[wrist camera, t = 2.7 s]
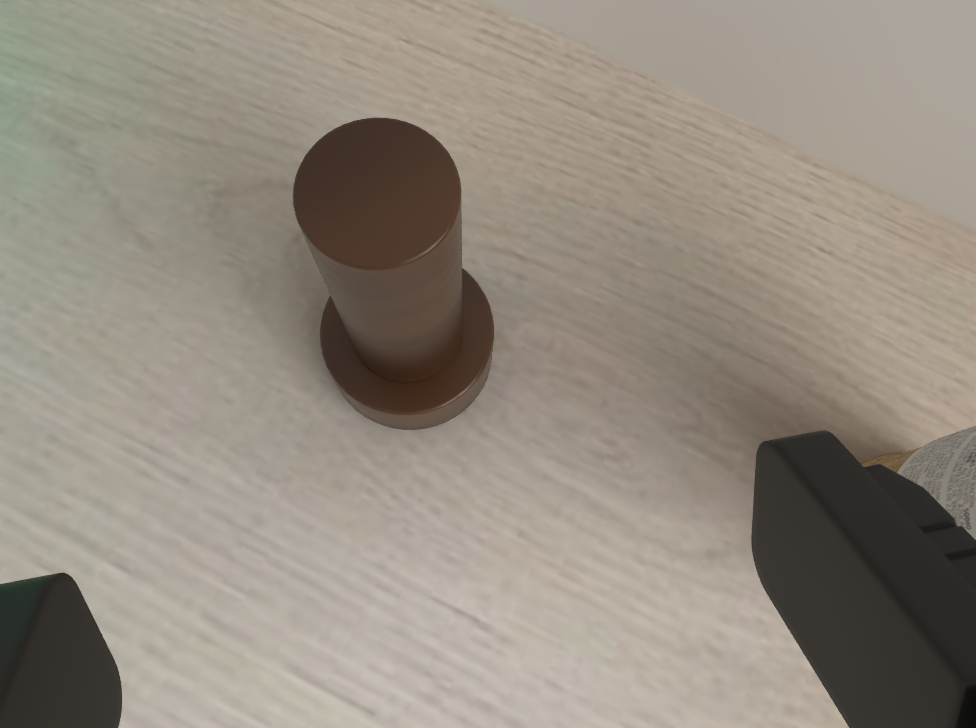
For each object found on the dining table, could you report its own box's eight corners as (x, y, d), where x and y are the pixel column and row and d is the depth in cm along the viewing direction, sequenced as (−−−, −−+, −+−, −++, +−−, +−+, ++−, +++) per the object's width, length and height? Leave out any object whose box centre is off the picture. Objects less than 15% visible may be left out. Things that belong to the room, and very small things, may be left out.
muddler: (524, 360, 23) (563, 204, 14) (400, 463, 22) (354, 371, 13) (422, 247, 24) (396, 30, 15) (299, 342, 23) (189, 175, 14)
